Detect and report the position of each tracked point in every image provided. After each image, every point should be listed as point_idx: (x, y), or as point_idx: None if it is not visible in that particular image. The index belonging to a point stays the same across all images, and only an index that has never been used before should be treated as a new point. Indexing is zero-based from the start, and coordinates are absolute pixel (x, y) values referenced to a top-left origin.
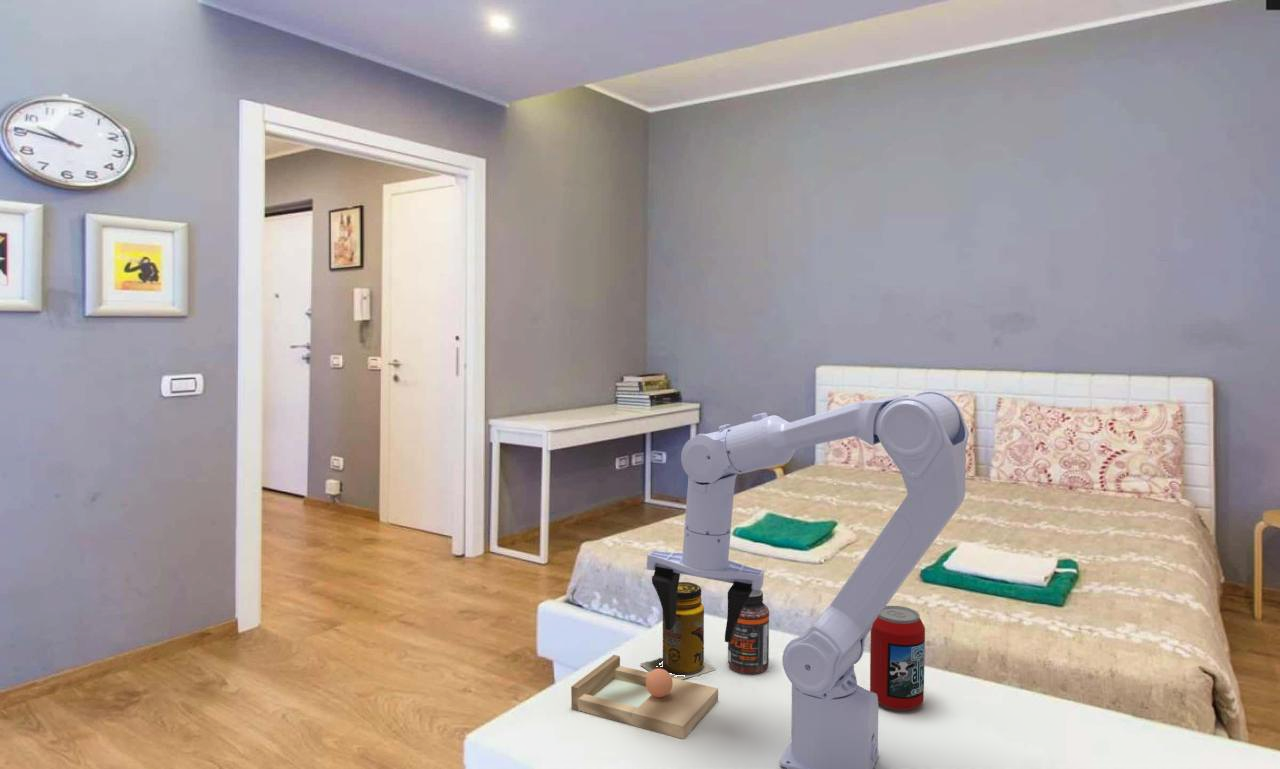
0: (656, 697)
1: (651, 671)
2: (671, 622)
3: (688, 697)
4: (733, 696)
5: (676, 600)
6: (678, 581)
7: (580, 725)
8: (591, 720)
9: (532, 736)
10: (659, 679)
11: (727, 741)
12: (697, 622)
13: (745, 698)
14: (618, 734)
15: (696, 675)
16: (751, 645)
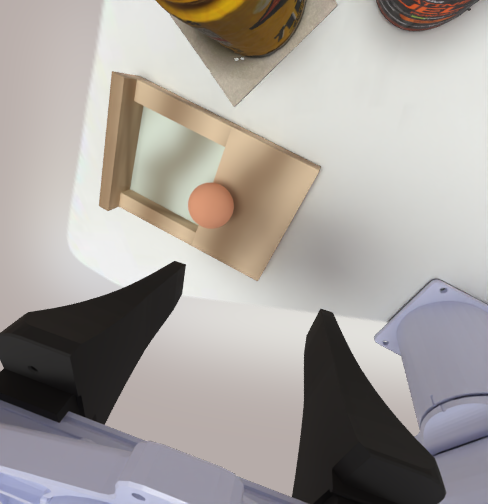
0: None
1: (190, 207)
2: (174, 301)
3: (264, 204)
4: (352, 149)
5: (153, 291)
6: (115, 327)
7: (144, 235)
8: (151, 224)
9: (109, 253)
10: (208, 227)
11: (318, 281)
12: (262, 1)
13: (375, 157)
14: (188, 256)
15: (287, 54)
16: (449, 9)
